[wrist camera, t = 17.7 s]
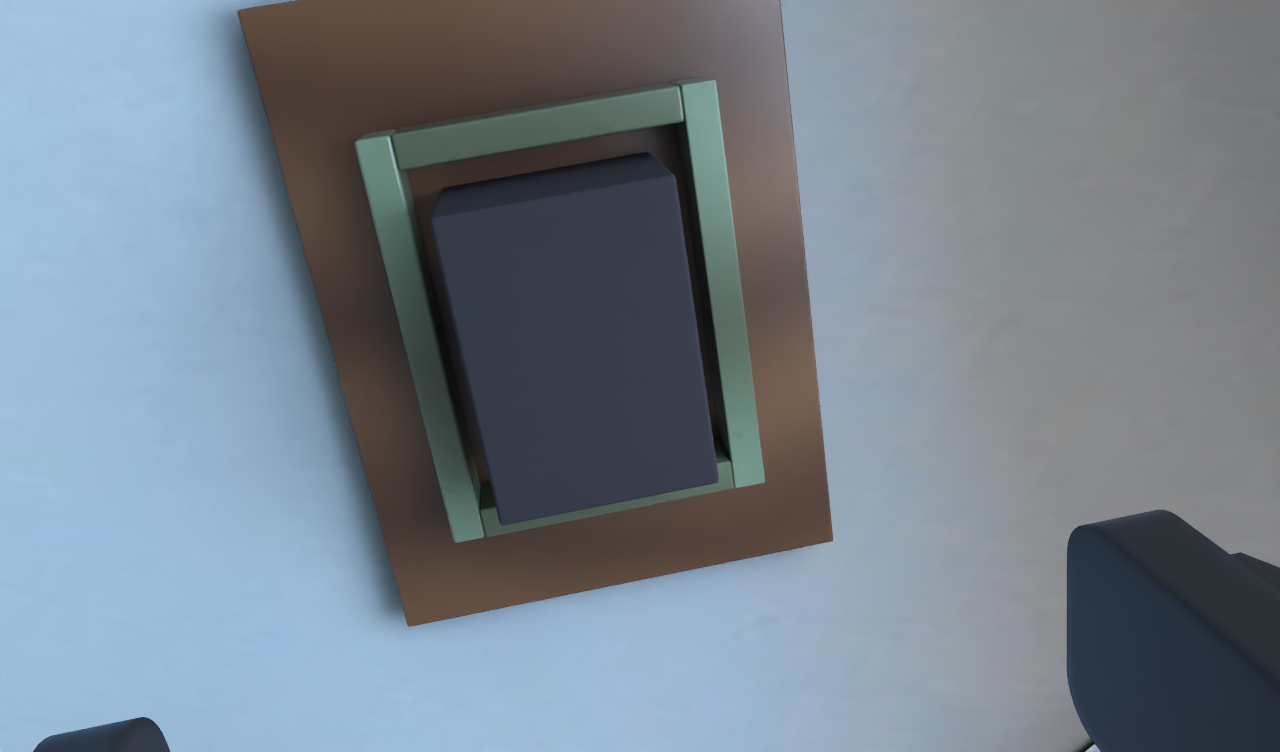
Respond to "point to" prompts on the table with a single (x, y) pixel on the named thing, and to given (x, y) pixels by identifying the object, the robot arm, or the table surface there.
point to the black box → (577, 334)
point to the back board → (522, 143)
